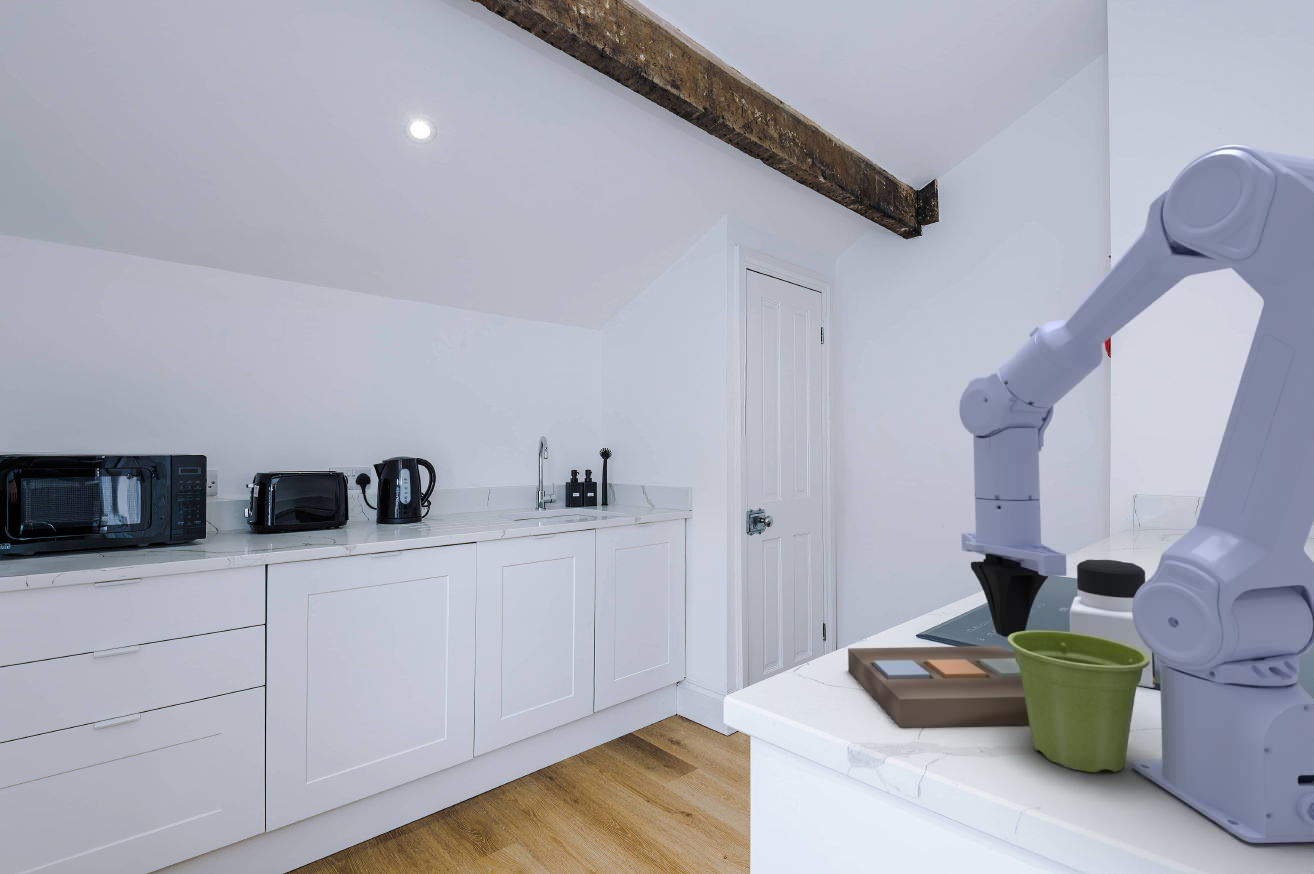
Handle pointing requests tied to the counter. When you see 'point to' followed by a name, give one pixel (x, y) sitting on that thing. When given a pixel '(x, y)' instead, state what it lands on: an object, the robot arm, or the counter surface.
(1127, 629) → the medicine bottle
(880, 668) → the button slate
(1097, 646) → the plant pot
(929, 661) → the button terracotta
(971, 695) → the button panel
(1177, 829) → the counter surface
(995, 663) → the button sage
